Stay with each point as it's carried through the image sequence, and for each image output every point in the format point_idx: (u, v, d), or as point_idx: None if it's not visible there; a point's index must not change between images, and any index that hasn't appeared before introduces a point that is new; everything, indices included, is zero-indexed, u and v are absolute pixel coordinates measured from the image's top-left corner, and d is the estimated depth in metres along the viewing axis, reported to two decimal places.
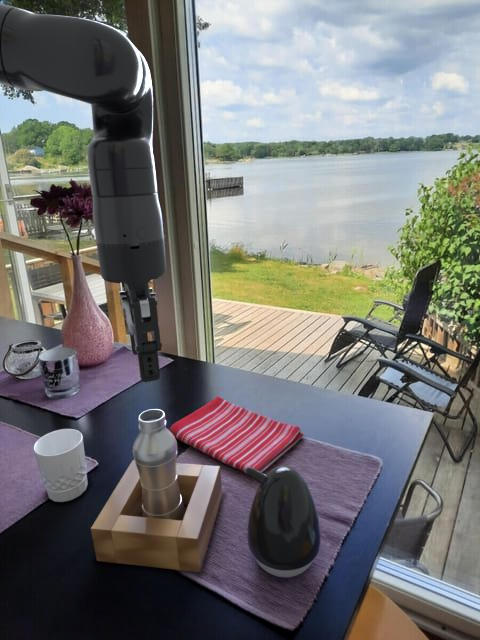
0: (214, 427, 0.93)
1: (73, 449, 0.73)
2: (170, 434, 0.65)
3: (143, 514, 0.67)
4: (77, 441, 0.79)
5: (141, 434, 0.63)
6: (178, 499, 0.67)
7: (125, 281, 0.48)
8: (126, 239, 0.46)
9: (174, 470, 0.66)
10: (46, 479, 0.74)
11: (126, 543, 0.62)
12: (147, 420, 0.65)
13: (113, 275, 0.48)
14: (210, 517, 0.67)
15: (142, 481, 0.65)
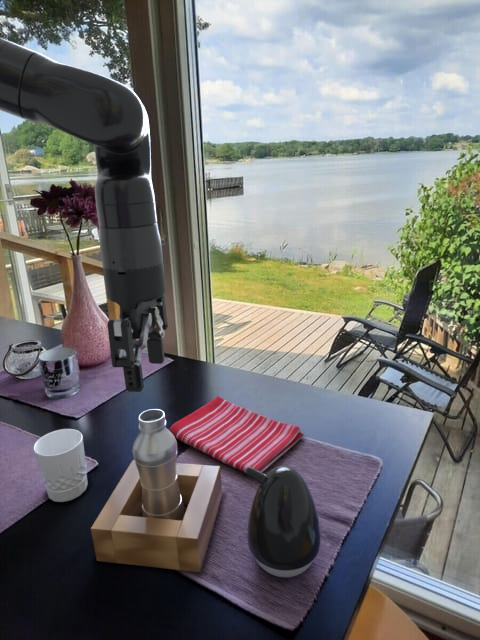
0: (214, 427, 0.93)
1: (73, 449, 0.73)
2: (170, 434, 0.65)
3: (143, 514, 0.67)
4: (77, 441, 0.79)
5: (141, 434, 0.63)
6: (178, 499, 0.67)
7: (115, 301, 0.54)
8: (115, 265, 0.53)
9: (174, 470, 0.66)
10: (46, 479, 0.74)
11: (126, 543, 0.62)
12: (147, 420, 0.65)
13: (108, 294, 0.55)
14: (210, 517, 0.67)
15: (142, 481, 0.65)
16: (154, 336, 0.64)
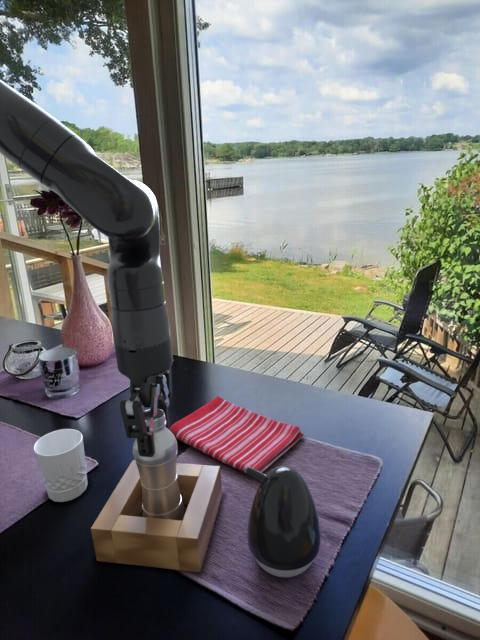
0: (214, 427, 0.93)
1: (73, 449, 0.73)
2: (170, 433, 0.65)
3: (143, 514, 0.67)
4: (77, 441, 0.79)
5: None
6: (178, 499, 0.67)
7: (126, 375, 0.58)
8: (126, 344, 0.56)
9: (174, 470, 0.66)
10: (46, 479, 0.74)
11: (126, 543, 0.62)
12: None
13: (119, 368, 0.58)
14: (210, 517, 0.67)
15: (142, 481, 0.65)
16: (159, 405, 0.66)
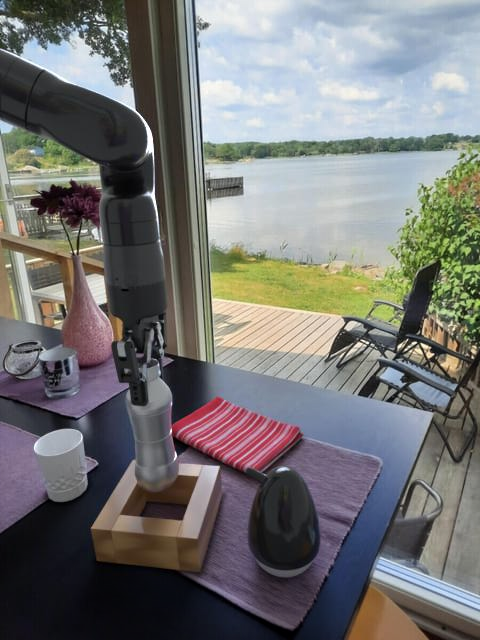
0: (214, 427, 0.93)
1: (73, 449, 0.73)
2: (165, 385, 0.62)
3: (136, 469, 0.64)
4: (77, 441, 0.79)
5: None
6: (173, 455, 0.65)
7: (118, 317, 0.55)
8: (118, 282, 0.53)
9: (169, 423, 0.63)
10: (46, 479, 0.74)
11: (126, 543, 0.62)
12: None
13: (111, 310, 0.56)
14: (210, 517, 0.67)
15: (135, 433, 0.62)
16: (153, 356, 0.64)
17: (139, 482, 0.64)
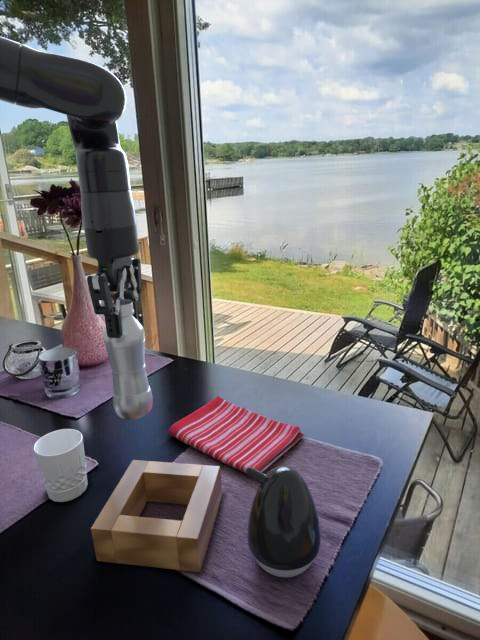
0: (214, 427, 0.93)
1: (73, 449, 0.73)
2: (138, 322, 0.70)
3: (114, 399, 0.72)
4: (77, 441, 0.79)
5: None
6: (146, 387, 0.73)
7: (94, 256, 0.63)
8: (93, 225, 0.62)
9: (142, 357, 0.71)
10: (46, 479, 0.74)
11: (126, 543, 0.62)
12: None
13: (88, 251, 0.64)
14: (210, 517, 0.67)
15: (112, 365, 0.70)
16: (128, 298, 0.72)
17: (116, 410, 0.73)
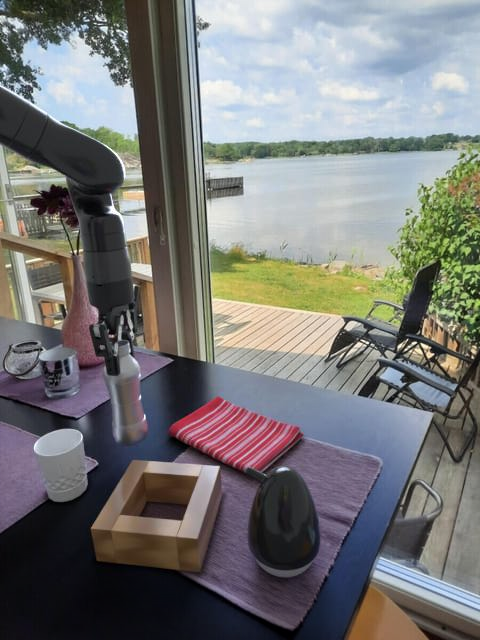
0: (214, 427, 0.93)
1: (73, 449, 0.73)
2: (134, 360, 0.79)
3: (113, 428, 0.81)
4: (77, 441, 0.79)
5: None
6: (142, 416, 0.82)
7: (95, 306, 0.72)
8: (94, 279, 0.70)
9: (138, 390, 0.80)
10: (46, 479, 0.74)
11: (126, 543, 0.62)
12: None
13: (90, 301, 0.73)
14: (210, 517, 0.67)
15: (111, 399, 0.79)
16: (125, 338, 0.80)
17: (115, 438, 0.81)
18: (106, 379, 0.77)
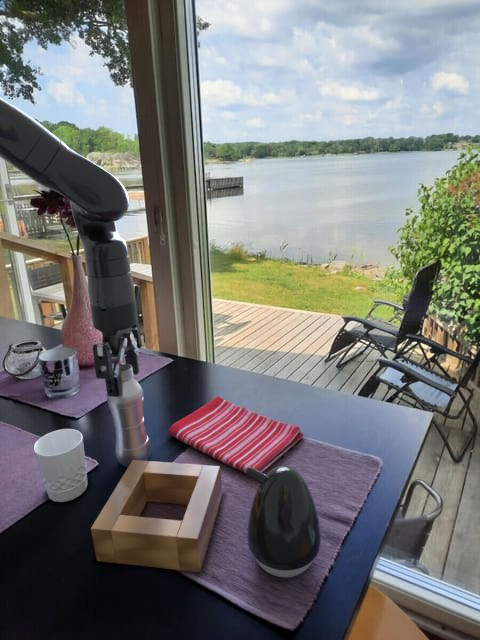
0: (214, 427, 0.93)
1: (73, 449, 0.73)
2: (137, 384, 0.80)
3: (116, 450, 0.82)
4: (77, 441, 0.79)
5: None
6: (145, 438, 0.83)
7: (99, 329, 0.73)
8: (98, 304, 0.72)
9: (141, 413, 0.81)
10: (46, 479, 0.74)
11: (126, 543, 0.62)
12: None
13: (94, 324, 0.74)
14: (210, 517, 0.67)
15: (114, 422, 0.80)
16: (130, 353, 0.83)
17: (118, 459, 0.83)
18: (110, 403, 0.79)
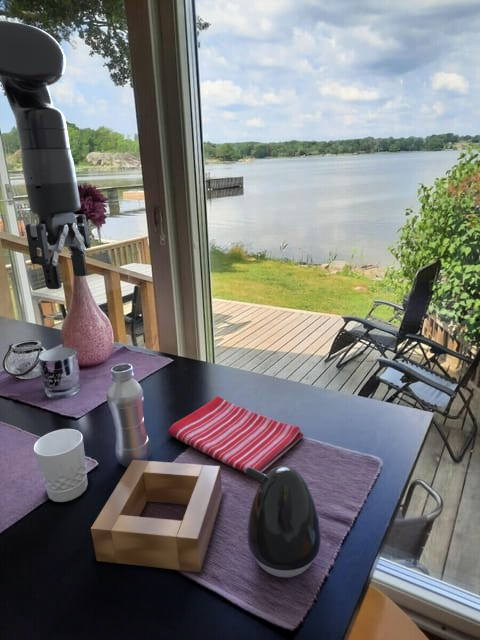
0: (213, 427, 0.93)
1: (73, 449, 0.73)
2: (137, 384, 0.80)
3: (116, 450, 0.82)
4: (77, 441, 0.79)
5: (113, 383, 0.79)
6: (145, 438, 0.83)
7: (35, 212, 0.67)
8: (32, 180, 0.65)
9: (141, 413, 0.81)
10: (46, 479, 0.74)
11: (126, 543, 0.62)
12: None
13: (30, 207, 0.68)
14: (210, 517, 0.67)
15: (114, 422, 0.80)
16: (77, 252, 0.76)
17: (118, 459, 0.83)
18: (110, 403, 0.79)
